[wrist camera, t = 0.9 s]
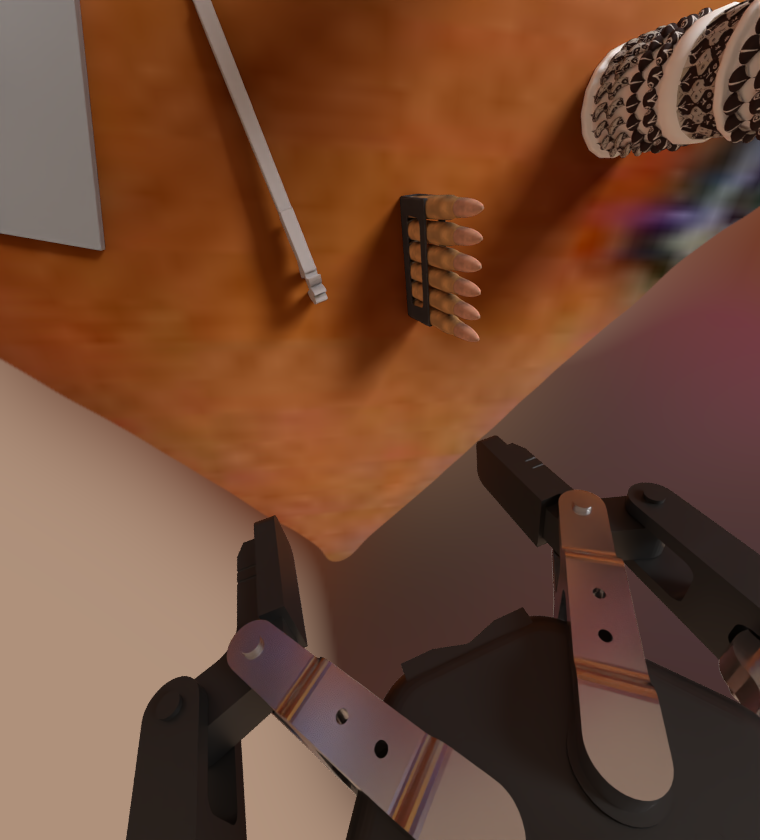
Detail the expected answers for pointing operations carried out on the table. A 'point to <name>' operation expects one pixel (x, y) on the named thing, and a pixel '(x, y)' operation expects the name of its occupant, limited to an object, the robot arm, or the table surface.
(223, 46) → the caliper
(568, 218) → the table surface
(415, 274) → the ammunition clip
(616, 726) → the robot arm
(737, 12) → the decorative candle
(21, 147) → the post board
